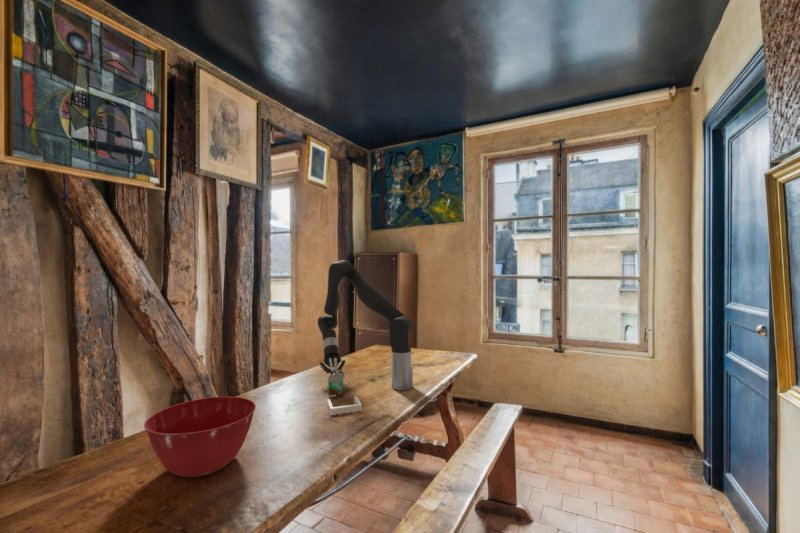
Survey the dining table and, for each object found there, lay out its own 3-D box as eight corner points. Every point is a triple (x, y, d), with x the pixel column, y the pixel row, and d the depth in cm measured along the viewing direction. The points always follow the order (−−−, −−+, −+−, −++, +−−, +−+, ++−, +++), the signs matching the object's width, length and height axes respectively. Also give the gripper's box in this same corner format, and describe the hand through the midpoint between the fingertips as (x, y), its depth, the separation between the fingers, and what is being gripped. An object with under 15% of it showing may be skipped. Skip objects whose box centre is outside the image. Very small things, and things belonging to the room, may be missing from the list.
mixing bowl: (185, 441, 123) (185, 394, 123) (270, 441, 122) (270, 395, 122) (118, 494, 94) (117, 433, 94) (228, 495, 94) (227, 434, 93)
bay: (356, 401, 157) (356, 396, 157) (362, 411, 147) (362, 404, 147) (327, 405, 153) (327, 399, 153) (330, 415, 143) (330, 408, 143)
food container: (342, 400, 159) (342, 376, 159) (328, 400, 159) (327, 376, 159) (347, 390, 171) (346, 368, 171) (333, 390, 171) (333, 368, 171)
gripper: (318, 345, 182) (321, 377, 170) (344, 343, 186) (349, 374, 174) (317, 353, 187) (319, 385, 175) (343, 351, 191) (347, 382, 179)
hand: (334, 379), depth 175 cm, fingers closed
